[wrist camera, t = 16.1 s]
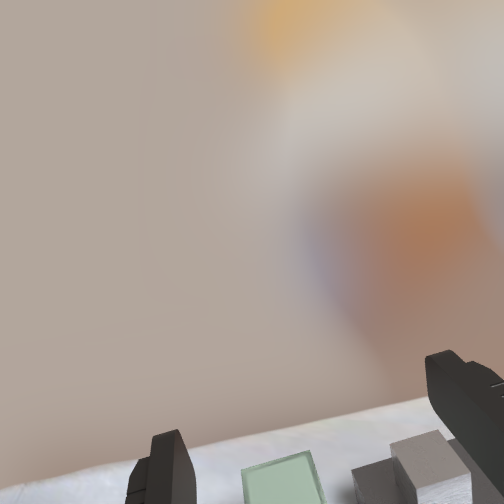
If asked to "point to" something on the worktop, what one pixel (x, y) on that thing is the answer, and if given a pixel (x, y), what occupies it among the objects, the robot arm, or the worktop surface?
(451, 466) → the grey step block
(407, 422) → the worktop surface
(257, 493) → the tall mint pillar
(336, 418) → the worktop surface
